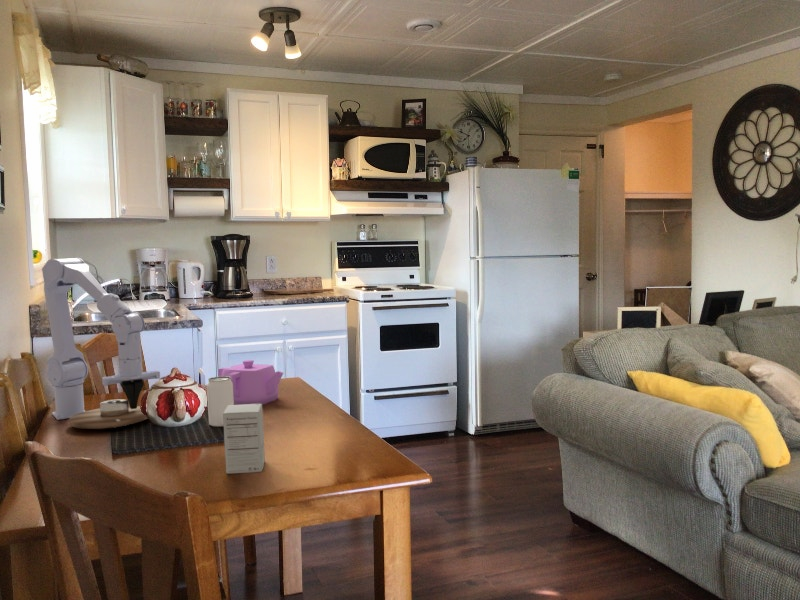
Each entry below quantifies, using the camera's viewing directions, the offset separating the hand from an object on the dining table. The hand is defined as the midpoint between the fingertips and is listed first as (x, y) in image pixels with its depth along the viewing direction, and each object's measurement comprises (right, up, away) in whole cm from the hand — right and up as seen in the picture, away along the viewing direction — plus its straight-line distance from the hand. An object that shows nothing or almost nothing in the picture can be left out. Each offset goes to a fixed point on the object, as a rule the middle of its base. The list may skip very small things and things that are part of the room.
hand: (133, 408), depth 191 cm
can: (+26, -3, -7) cm, 27 cm away
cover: (-4, -1, -3) cm, 5 cm away
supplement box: (+40, -6, -44) cm, 60 cm away
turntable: (-5, -2, -3) cm, 6 cm away
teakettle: (+28, -1, +20) cm, 34 cm away
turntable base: (-5, -4, -3) cm, 7 cm away
